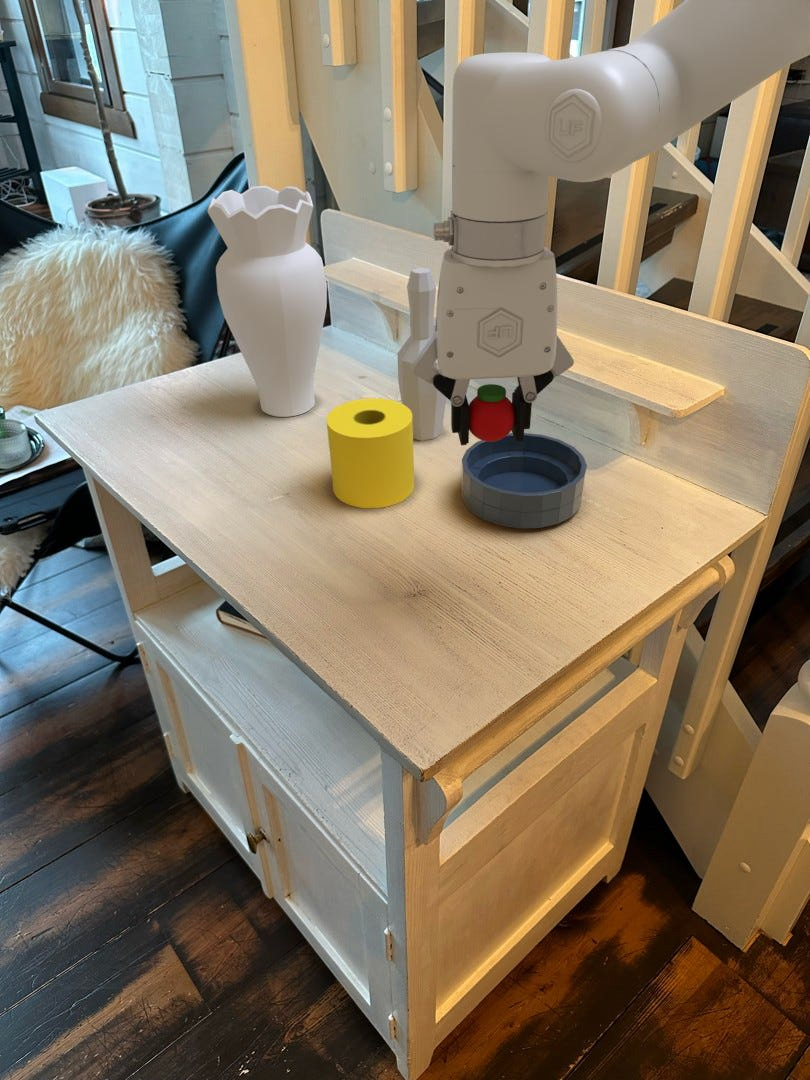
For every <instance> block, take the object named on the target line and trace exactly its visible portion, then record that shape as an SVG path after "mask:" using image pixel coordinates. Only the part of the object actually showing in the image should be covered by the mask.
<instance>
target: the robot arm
mask: <svg viewBox="0 0 810 1080" xmlns="http://www.w3.org/2000/svg"><path fill="white" fill-rule="evenodd" d="M808 56H810V0H684V1H683V2H682V3H680V4H679V5H678V6H676V7H675V8H673V10H671V11H670V12H669V13H667V14H666V15H665V16H663V17H662V18H661V19H659V20H658V21H657V22H656V23H655V24H653V25H652V26H651V27H649V28H648V29H646V30H645V31H644V32H643V33H641V34H640V35H639V36H637V37H636V38H634V39H633V40H632V41H630V42H629V43H627V44H626V45H624V46H623V45H622V46H618V47H614V48H608V49H605V50H602V51H597V52H594V53H588V54H583V55H579V56H578V55H577V56H573V57H568V58H562V59H555V60H552V59H551V58H550V57H549V56H546V55H545V54H542V53H534V52H525V51H523V52H521V51H520V52H519V51H508V52H505V51H504V52H488V53H487V52H486V53H480V54H475V55H470V56H468V57H466V58H464V59H463V60H461V62H459V64H458V65H457V67H456V68H455V71H454V75H453V79H452V127H451V128H452V131H451V132H452V137H451V138H452V139H451V140H452V142H451V167H452V168H451V183H452V184H451V197H452V198H451V200H452V201H451V210H450V216H447V220H443V221H442V222H434V223H433V240H434V241H435V242H436V241H442V242H443V243H448V246H451V248H448V249H447V250H445V251H444V253H443V257H442V262H441V267H440V272H439V279H438V280H439V281H438V286H437V287H438V288H437V297H436V308H435V309H436V310H435V328H434V334H433V336H432V337H431V338H430V340H429V341H428V343H427V344H426V345H425V347H424V348H423V350H422V351H421V352H420V354H419V355H418V357H417V358H416V359H415V361H414V362H413V372H414V374H415V375H417V376H419V377H420V378H422V379H423V380H425V381H427V382H428V383H431V384H432V385H434V387H435V388H436V389H437V390H438V391H440V392H441V393H442V394H443V395H444V396H445V397H446V399H447V400H449V401H450V406H451V408H450V420H451V421H450V426H451V427H450V428H451V432H452V434H457V435H458V439H459V441H460V442H459V443H460V446H467V445H468V444H469V442H470V430H469V412H470V409H469V404H470V403H469V400H468V398H467V392H468V388H469V386H470V381H471V380H485V379H505V378H506V379H508V378H516V380H517V386H516V387H515V389H514V390H513V391H512V393H511V403H512V404H513V406H514V409H515V423H514V426H513V428H512V430H511V431H510V432H511V433H513V436H514V439H515V441H517V442H523V440H524V433H525V430H530V428H531V421H532V420H531V419H532V407H533V403H534V402H535V401H536V400H537V398H538V395H540V393H541V392H542V391H544V390H545V388H546V387H548V386H549V385H550V384H551V383H552V382H553V380H554V379H555V378H556V377H559V376H560V375H563V374H564V373H565V372H566V371H568V370H569V369H570V368H572V367H573V366H574V364H575V360H574V359H573V357H572V355H571V353H570V352H569V350H568V349H567V347H566V346H565V344H564V343H563V341H562V340H561V339H560V337H559V336H558V279H557V266H556V258H555V253H554V252H553V251H551V250H550V249H549V248H548V247H546V236H547V224H548V222H547V220H548V207H549V196H550V195H549V194H550V182H551V177H552V178H556V179H558V180H563V181H569V182H574V183H590V182H591V183H592V182H595V181H601V180H603V179H606V178H608V177H610V176H612V175H614V174H616V173H618V172H620V171H622V170H623V169H625V168H626V167H628V166H630V165H632V164H633V163H636V162H637V161H639V160H643V159H644V158H646V157H648V156H650V155H651V154H653V153H655V152H657V151H659V150H660V149H661V148H663V147H664V146H666V145H667V144H669V143H671V142H672V141H674V140H675V139H677V138H678V137H680V136H682V135H683V134H684V133H686V132H688V131H689V130H690V129H692V128H694V127H695V126H697V125H698V124H700V123H701V122H703V121H704V120H706V119H707V118H710V116H712V115H713V114H715V113H717V112H718V111H720V110H721V109H723V108H724V107H726V106H727V105H729V104H731V103H732V102H734V101H735V100H736V99H738V98H739V97H741V96H743V95H744V94H745V93H747V92H749V91H751V90H752V89H754V88H755V87H757V86H758V85H760V84H761V83H763V82H764V81H766V80H767V79H769V78H770V77H772V76H773V75H775V74H776V73H778V72H779V71H782V70H783V69H785V68H786V67H788V66H790V65H792V64H793V63H795V62H797V61H800V60H802V59H804V58H806V57H808ZM436 359H437V360H438V365H439V369H440V370H439V369H437V368H436V367H435V366H433V364H434V362H435V361H436Z"/></svg>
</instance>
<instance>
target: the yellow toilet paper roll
mask: <svg viewBox="0 0 810 1080" xmlns="http://www.w3.org/2000/svg"><path fill="white" fill-rule="evenodd" d="M326 426H327V427H326V428H327V438H328V447H329V449H328V450H329V458H330V459H329V460H330V468H331V477H332V487H333V488H332V489H333V493H334V495H335V496H336V498H337V499H338V500H339V501H341V502H342V503H344V504H346V505H349V506H351V507H354V508H360V509H381V508H386V507H391V506H394V505H397V504H400V503H401V502H403V501H404V500H406V499H407V498H408V497H410V495H412V493H413V491H414V490H415V463H414V462H415V461H414V459H415V458H414V438H413V420H412V412H411V410H410V409H409V408H408V407H407V406H405V405H403V404H402V402H399V401H396V400H393V399H387V398H378V397H373V398H372V397H369V398H360V399H359V398H358V399H355V400H350V401H347V402H344V403H341V404H339V405H338V406H335V407H334V408H332V409H331V410H330V411H329V412H328V414H327V416H326Z"/></svg>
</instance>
